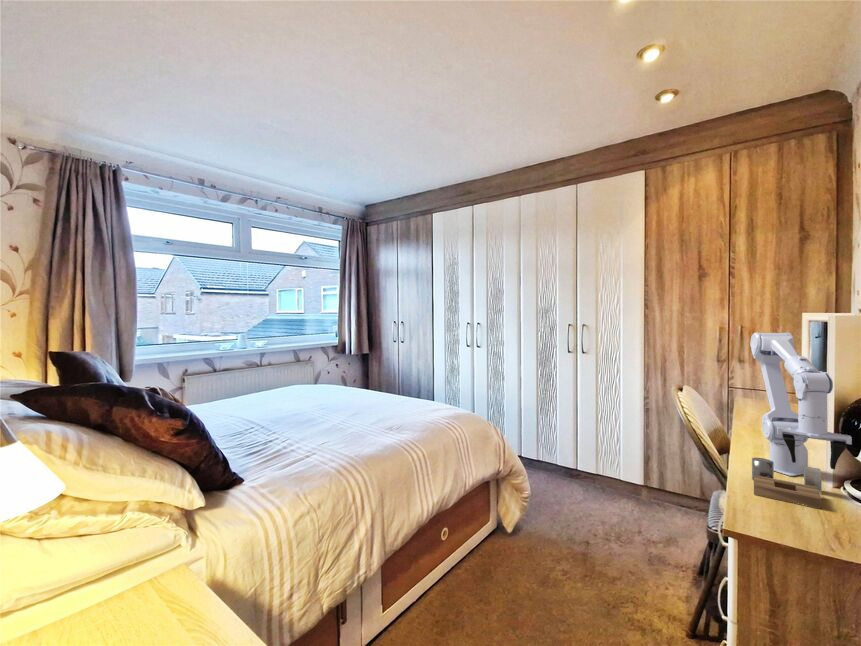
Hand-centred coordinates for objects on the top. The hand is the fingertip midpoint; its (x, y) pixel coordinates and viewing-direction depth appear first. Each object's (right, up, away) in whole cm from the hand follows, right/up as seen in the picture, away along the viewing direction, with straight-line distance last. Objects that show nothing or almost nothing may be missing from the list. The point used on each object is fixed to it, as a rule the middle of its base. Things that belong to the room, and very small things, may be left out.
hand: (812, 464), depth 107 cm
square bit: (0, -7, 0) cm, 7 cm away
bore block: (-10, -7, -3) cm, 13 cm away
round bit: (-8, -7, +7) cm, 13 cm away
